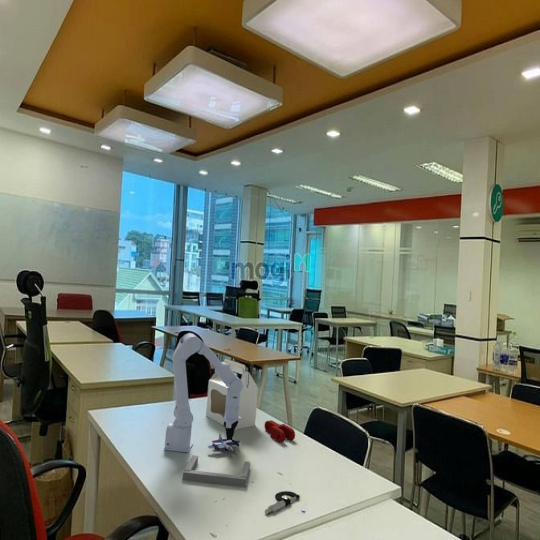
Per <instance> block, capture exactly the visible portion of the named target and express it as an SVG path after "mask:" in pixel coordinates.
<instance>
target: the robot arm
mask: <svg viewBox="0 0 540 540" xmlns="http://www.w3.org/2000/svg"><path fill="white" fill-rule="evenodd" d="M195 353H197V354H199V355H203V356H204V357H205V358H206V359H207V360H208V361H209V363H211V365H213V367H214V373H216V374H217V375H218V377H219V378H220V379H221V380H222V381H223V382H224V383H225V384H226V386H227V387H228V388H227V394H226V406H225V416H224V420H225V421H224V425H223V427H224V430H225V436H226V439H229V440H228V441H232V439H233V438H234V435H235V431H236V430H235V428H236V426H237V424H238V420H241V417H239V405H240V391H241V390H242V389H243V384H242V381H241V378H239V377H238V373H237V372H234V371H232V369H231V368H230V365H229V364H226V363H225V362H222V361H220V359H219V358H218V357H217V356H216V354H215V353H214V352H213V351H212V349H211V348H210V347H209V346H208V344H206V343H205V342H204V341H202V340H201V339H200V338H199V337H198V336H197V335H196V334H194V333H191V332H188V333H185V334H184V335H183V336H182V337H181V338H180V339H179V341H178V343H177V346H176V348H175V350H174V352H173V354H172V367H173V379H174V391H175V404H174V405H175V406H174V409H173V416H174V418H175V419H174V421H173V422H169V423H168V424H167V426H166V431H165V436H164V437H165V438H164V439H165V440H164V447H163V450H164V451H173V452H181V453H189V451H190V449H191V448H192V446H193V445H194V443H193V442H191V440H192V426H193V422H194V414H193V413H192V412H191V406H190V405H191V404H190V402H189V390H188V377H187V376H188V375H187V364H186V361H187V360H188V359H189V357H191V356H192V355H194V354H195Z"/></svg>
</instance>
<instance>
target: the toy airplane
mask: <svg viewBox="0 0 540 540" xmlns="http://www.w3.org/2000/svg"><path fill="white" fill-rule="evenodd" d="M211 442H212V444H211V445H208V446H207V448H208V449H214V450H216V451H218V452H220V449H222V450H224V451H225V452H227V453H229V457H230V458H232V456H233V454H235V455H236V456H238V454H237V453H236V452H235V451H234V449H233V447H234V446H236V447H240V443H241V441H240V440H239V439H238V440H236V439H233V438H232V440H229V439H227V438H222V434H221V433H219V434H218V439H215V440H212V441H211Z"/></svg>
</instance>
